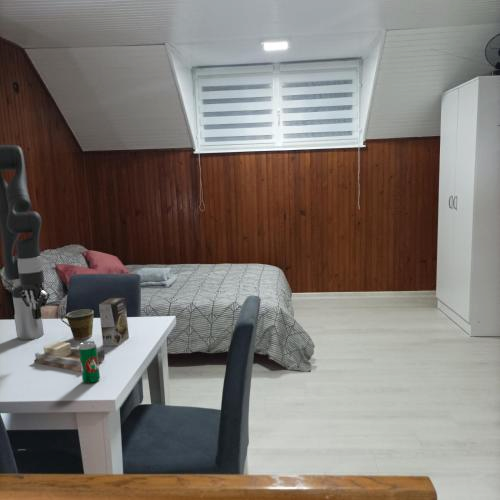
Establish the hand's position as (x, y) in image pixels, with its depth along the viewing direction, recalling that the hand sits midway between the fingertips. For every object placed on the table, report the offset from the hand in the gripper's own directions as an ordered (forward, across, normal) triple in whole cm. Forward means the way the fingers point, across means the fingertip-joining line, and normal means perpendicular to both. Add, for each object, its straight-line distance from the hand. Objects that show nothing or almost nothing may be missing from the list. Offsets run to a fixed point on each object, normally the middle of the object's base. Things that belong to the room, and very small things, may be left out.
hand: (37, 318), depth 157 cm
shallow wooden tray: (+14, +13, 0) cm, 19 cm away
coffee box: (+14, +16, +20) cm, 29 cm away
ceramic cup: (+14, -2, +19) cm, 24 cm away
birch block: (+13, +8, 0) cm, 15 cm away
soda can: (+15, +32, -9) cm, 36 cm away
